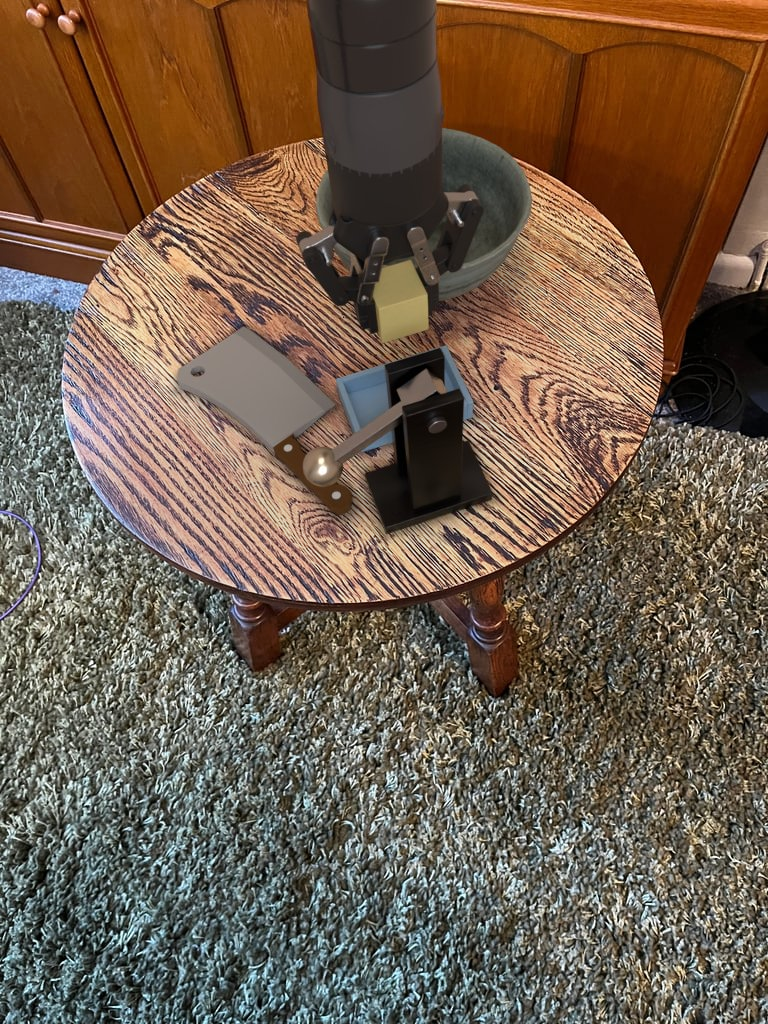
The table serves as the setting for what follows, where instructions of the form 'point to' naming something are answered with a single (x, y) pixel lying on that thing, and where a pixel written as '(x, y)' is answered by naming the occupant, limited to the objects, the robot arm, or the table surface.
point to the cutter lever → (368, 432)
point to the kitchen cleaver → (264, 400)
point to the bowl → (495, 189)
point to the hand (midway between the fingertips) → (397, 317)
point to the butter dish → (370, 398)
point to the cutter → (426, 454)
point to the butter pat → (400, 302)
